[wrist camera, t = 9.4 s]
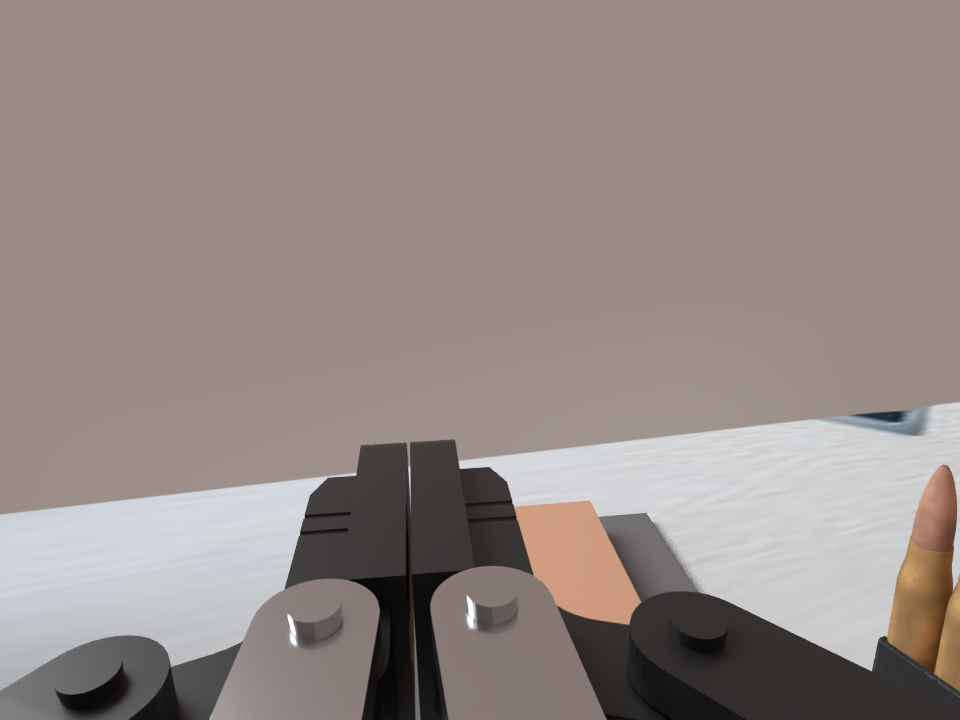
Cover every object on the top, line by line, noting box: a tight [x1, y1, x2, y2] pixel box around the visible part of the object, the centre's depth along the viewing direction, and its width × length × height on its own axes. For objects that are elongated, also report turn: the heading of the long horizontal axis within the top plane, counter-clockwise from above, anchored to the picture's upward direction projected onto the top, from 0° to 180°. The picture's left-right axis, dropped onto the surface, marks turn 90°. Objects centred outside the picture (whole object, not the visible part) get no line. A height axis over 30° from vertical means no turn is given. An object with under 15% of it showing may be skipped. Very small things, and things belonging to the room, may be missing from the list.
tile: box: [514, 501, 641, 625], centre depth 34 cm, size 10×2×12 cm
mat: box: [414, 513, 698, 720], centre depth 33 cm, size 18×18×1 cm
